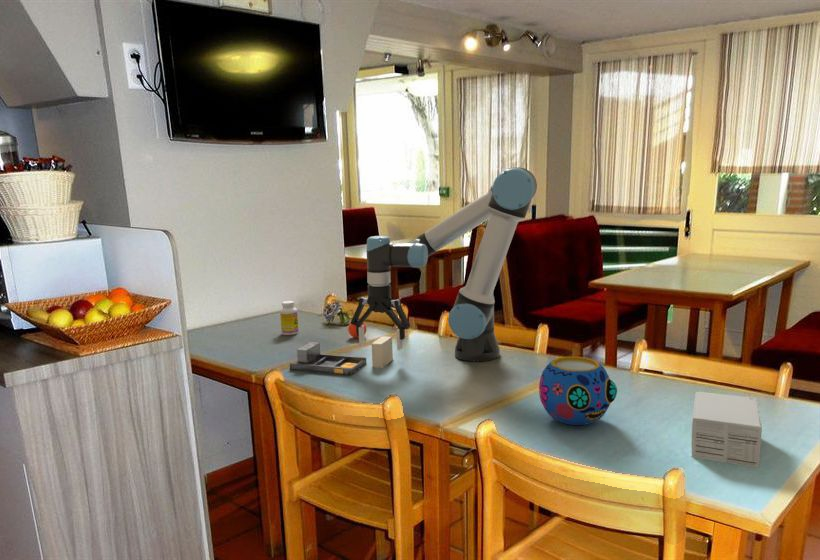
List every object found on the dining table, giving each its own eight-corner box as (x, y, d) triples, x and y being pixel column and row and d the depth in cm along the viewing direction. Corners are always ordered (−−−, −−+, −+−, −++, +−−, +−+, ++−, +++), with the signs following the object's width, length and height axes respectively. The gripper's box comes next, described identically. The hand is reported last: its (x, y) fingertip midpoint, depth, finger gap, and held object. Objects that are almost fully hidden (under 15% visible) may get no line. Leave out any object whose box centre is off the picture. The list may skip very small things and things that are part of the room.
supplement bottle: (296, 335, 245) (294, 303, 243) (280, 336, 245) (277, 304, 243) (300, 331, 251) (297, 300, 249) (283, 331, 252) (281, 300, 249)
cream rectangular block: (392, 359, 210) (391, 336, 209) (382, 368, 202) (381, 344, 200) (383, 358, 211) (382, 336, 210) (372, 367, 203) (371, 343, 202)
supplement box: (693, 427, 150) (695, 390, 148) (755, 436, 144) (758, 397, 142) (689, 457, 135) (691, 416, 133) (759, 468, 129) (762, 426, 127)
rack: (366, 363, 206) (365, 344, 205) (350, 375, 195) (348, 355, 194) (308, 358, 214) (307, 340, 213) (289, 370, 203) (288, 350, 202)
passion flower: (329, 336, 262) (315, 312, 264) (350, 327, 269) (336, 303, 271) (339, 326, 253) (324, 301, 255) (360, 316, 260) (345, 292, 262)
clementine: (345, 336, 241) (344, 318, 240) (362, 333, 244) (361, 316, 243) (352, 341, 234) (351, 322, 233) (369, 338, 237) (368, 320, 236)
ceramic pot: (568, 441, 144) (569, 379, 141) (525, 415, 160) (524, 359, 157) (627, 427, 151) (629, 367, 148) (580, 402, 167) (581, 348, 164)
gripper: (419, 283, 201) (420, 347, 205) (349, 280, 209) (351, 340, 213) (411, 288, 194) (412, 353, 198) (339, 284, 203) (341, 346, 206)
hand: (380, 347), depth 206 cm, fingers open, 13 cm apart
